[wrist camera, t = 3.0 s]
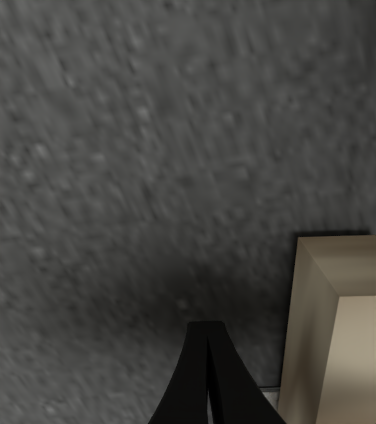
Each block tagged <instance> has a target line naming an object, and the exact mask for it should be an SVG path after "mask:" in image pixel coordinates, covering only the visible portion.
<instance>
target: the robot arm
mask: <svg viewBox="0 0 376 424" xmlns="http://www.w3.org/2000/svg"><path fill="white" fill-rule="evenodd" d="M208 391H209V398H210V404H211V411H212V417H213V424H287V423H286V422H285V421H284V420H283V419H282V417H281V416H280V415H279V414H278V412H277V411H276V410H275V409H274V407H273V406H272V405H271V403H270V402H269V401H268V400H267V398H266V397H265V396H264V394H263V393H262V391H261V390H260V388H259V387H258V386H257V384H256V383H255V381H254V380H253V378H252V376H251V375H250V373H249V372H248V370H247V369H246V367H245V365H244V363H243V362H242V360H241V358H240V356H239V355H238V353H237V351H236V349H235V347H234V345H233V343H232V341H231V339H230V337H229V335H228V332H227V330H226V327H225V324H224V323H223V322H222V321H195V322H189V323H188V325H187V333H186V338H185V342H184V345H183V349H182V352H181V355H180V358H179V360H178V363H177V366H176V369H175V371H174V373H173V376H172V378H171V380H170V383H169V385H168V387H167V389H166V391H165V393H164V395H163V397H162V399H161V401H160V403H159V405H158V407H157V409H156V411H155V413H154V414H153V416H152V418H151V419H150V421H149V423H148V424H208V415H207V400H208Z"/></svg>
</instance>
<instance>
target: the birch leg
mask: <svg viewBox="0 0 376 424" xmlns="http://www.w3.org/2000/svg"><path fill="white" fill-rule="evenodd" d="M278 414H279V415H280V416H281V417H282V419H283V420H284V421H285V422H286V423H287V424H376V235H359V236H324V237H298V243H297V252H296V261H295V269H294V278H293V286H292V295H291V303H290V312H289V320H288V329H287V337H286V346H285V354H284V363H283V371H282V380H281V388H280V397H279V405H278Z"/></svg>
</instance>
